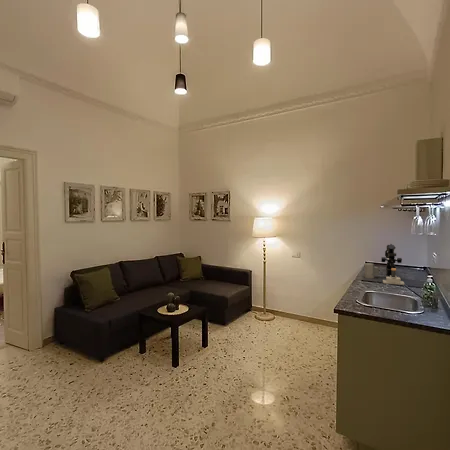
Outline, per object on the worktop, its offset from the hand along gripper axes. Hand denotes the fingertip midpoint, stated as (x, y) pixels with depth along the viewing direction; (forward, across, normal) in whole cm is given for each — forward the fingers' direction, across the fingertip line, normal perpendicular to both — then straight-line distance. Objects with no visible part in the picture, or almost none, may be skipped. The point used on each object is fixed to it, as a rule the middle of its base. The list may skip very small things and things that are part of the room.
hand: (391, 266), depth 303 cm
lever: (+17, 0, -5) cm, 17 cm away
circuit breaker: (+8, -18, +11) cm, 23 cm away
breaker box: (+21, 0, -1) cm, 21 cm away
